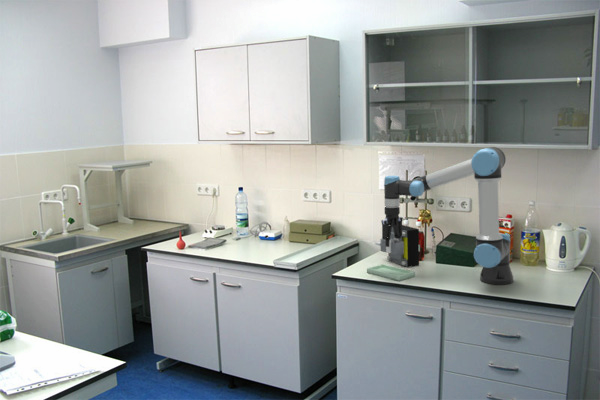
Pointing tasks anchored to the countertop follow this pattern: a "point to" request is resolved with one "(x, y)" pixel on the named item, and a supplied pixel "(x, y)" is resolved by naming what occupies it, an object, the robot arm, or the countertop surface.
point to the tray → (391, 272)
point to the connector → (392, 246)
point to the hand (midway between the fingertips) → (392, 251)
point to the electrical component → (407, 247)
